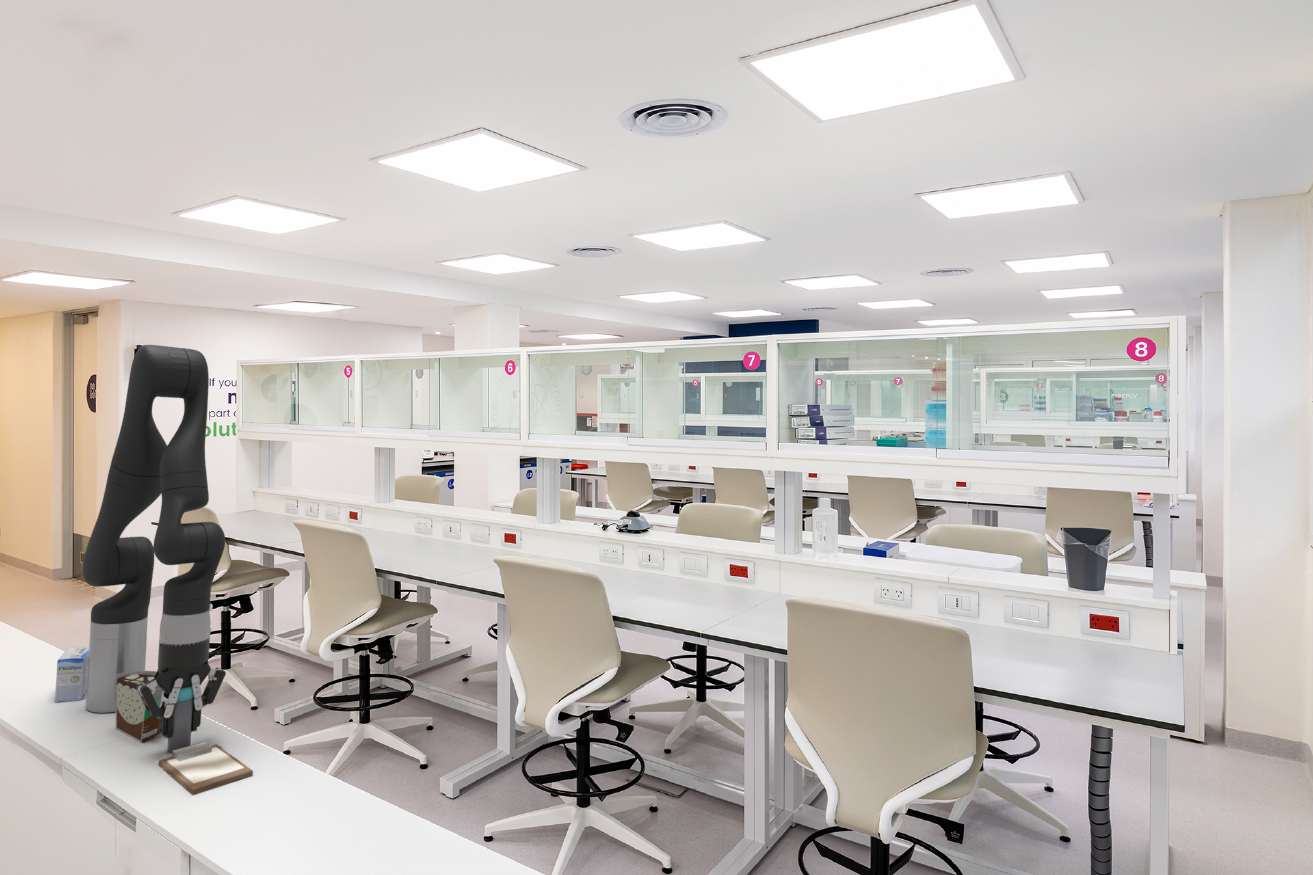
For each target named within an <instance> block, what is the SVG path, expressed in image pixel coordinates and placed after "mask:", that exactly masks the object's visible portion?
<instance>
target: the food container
mask: <svg viewBox="0 0 1313 875" xmlns="http://www.w3.org/2000/svg"><path fill="white" fill-rule="evenodd" d="M156 673H157V670H156V671H155V670H145V671H133V672H126V673H120V674H116V677H115V682H114V685H116V712H115V730H116V731H117V732H120V733H122V734H124V735H126V736H127V737H129V738H131V739H133V740H135V741H137V742H139V743H140V742H141V744H142V743H146V742H149V741H150V740H152V739H154V738H157V737H158V736H159V735H161V734H160V732H159V726H160V717H153V716H152V715H151V714H149V713H148V712H147V710H146V708H145V706H144V704H143V701H142V699H141V697H140V695H139V693H138V691H137V689H136V687H137V685H138V684H140V683H143V684H145V683H147V682H149V681H150V680H152V679H154V676H155V674H156ZM162 693H163V690H162V689H161V687H160V686H159V685H156V687H155V693H154V694H152V695H153V697H154V699H155V701H156V703H157V706H158V707H160V705H161V696H162ZM148 740H149V741H148Z"/></svg>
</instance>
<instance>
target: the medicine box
mask: <svg viewBox="0 0 1313 875" xmlns="http://www.w3.org/2000/svg"><path fill="white" fill-rule="evenodd" d="M88 663H89V646H79V647H78V646H77V647H68V648H66V649H65V650H64V652H63V653H62V654H61V655H60V656H59V658H58V660H57V662H56V681H55V695H54V696H55V697H54V702H56V703H62V702H61V701H66V702H75V701H74V700H77V701H81V700H83V699H84V697H85V695H86V694H87V682H88ZM72 700H73V701H72ZM59 701H60V702H59Z"/></svg>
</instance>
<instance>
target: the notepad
mask: <svg viewBox="0 0 1313 875" xmlns="http://www.w3.org/2000/svg"><path fill="white" fill-rule="evenodd" d="M158 766H159V767H160V766H161V767H162V768H163V769H164V770H163V769H162V768H161V767H160V768H161V769H162V770H163V771H164V772H166V773H167V774H168V775H169V776H170V775H171V776H170V777H171V778H173V779H174V781H176V782H177V783H179V785H181V786H182V787H183V788H184V789H185V790H187V791H188V792H189V793H190V794H191V796H192V795H196V794H199V793H202V792H205V791H208V790H211V789H215V788H218V787H221V786H224V785H228V784H230V783H234V782H236V781H241V780H243V779H246V778H249V777H252V776H253V774H254V770H253V769H251V768H250V767H249V766H247V765H246V764H244V763H243V762H242V761H240V760H239V759H238V758H236V757H235V756H233V754H231V753H229V752H228V751H227V750H226V749H224V748H223V747H221V746H220V745H218V744H217V743H215V744H212V745H210V744H208V743H207V742H205V741H204V742H200V743H197V744H192V745H190V746H188V747H185V748H181V749H177V750H174V751H172V752H171V756H170V757H166V758H163V759H159V760H158Z"/></svg>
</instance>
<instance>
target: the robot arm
mask: <svg viewBox="0 0 1313 875" xmlns="http://www.w3.org/2000/svg"><path fill="white" fill-rule="evenodd" d="M209 373H210V372H209V365H208V362H207V359H206V357H205V356H204V354H203V352H201V351H199V350H197V349H193V348H185V347H175V346H166V345H159V344H158V345H156V344H155V345H154V344H144V345H142V346H140V347H139V348H138V349H137V351H136V352H135V354H134V356H133V359H132V363H131V367H130V372H129V378H128V384H127V392H126V398H125V406H124V412H123V416H122V421H121V427H120V430H119V434H118V436H117V437H118V438H117V440H116V444H115V448H114V452H113V455H112V457H111V461H110V466H109V470H108V473H107V478H106V484H105V488H104V491H103V492H104V493H103V497H102V501H101V505H100V510H99V513H98V515H97V519H96V520H95V524H94V526H93V529H92V532H91V535H90V537H89V540H88V542H87V546H86V549H85V552H84V555H83V560H82V576H83V579H84V581H85V582H86V584H87V585H89V586H91V587H95V588H96V587H98V588H100V587H102V588H103V587H113V586H114V587H115V586H121V585H124V587H123V588H122V589H121V590H120V591H118V592H117V593H115V594H114V595H112V596H110V597H108V598H106V599H104V600H102V601H98V602H97V603H95V604H94V605H93V606H92V608H91V611H90V628H89V646H88V647H89V663H88V682H87V691H86V699H85V700H86V703H85V705H86V706H85V709H86V710H87V711H89V712H92V713H98V714H99V713H101V714H102V713H116V685H114V682H115V677H116V674H120V673H126V672H133V671H146V658H147V639H148V621H149V620H148V619H149V618H148V617H149V608H150V604H151V598H152V597H151V595H152V584H153V578H154V577H153V575H154V570H155V569H154V568H155V567H154V566H155V558H156V559H157V560H158V561H159V562H160V563H161V564H163V565H166V566H177V565H186V564H193V565H192V567H191V568H190V569H189V570H188V571H186V572H185V573H182V574H179V575H177V576H174V577H172V578H169V579H167V581H165V584H164V587H163V595H162V596H163V598H162V599H163V600H162V613H161V614H162V615H161V620H160V623H159V639H158V640H159V642H158V656H157V670H156V671H157V673H156V674H155V676H154V679H152V680H150V681H149V682H147V683H145V684H143V683H140V684H138V685H137V687H136V689H137V691H138V693H139V695H140V697H141V699H142V701H143V704H144V706H145V708H146V710H147V712H148V713H149V714H151V715H152V716H153V717H160V726H159V732H160V734H159V735H161V736H163V737H164V738H165V739H167V740H168V738H171V737H172V727H173V717H172V716H171V715H172V712H173V708H174V705H175V704H176V702H177V699H178V695H179V691H180V689H182V688H187V687H192V692H193V710H192V727H191V733H192V732H197V730H198V728H199V727H200V726H201V723H202V709H203V708H204V707H205V706H207V705H211V704H213V703H214V702H215V699H216V697H217V695H218V692H219V690H220V688H221V685H222V683H223V682H224V681H223V680H224V679H225V677H226V675H227V672H226V671H225V670H223V669H222V668H220V667H215V668H213V667H211V665H210V664H209V658H210V657H209V656H210V640H211V632H212V628H211V622H212V621H211V593H212V592H211V591H212V586H213V582H214V580H215V579H214V578H215V576H216V573H217V569H218V566H219V564H220V562H221V559H222V556H223V554H224V551H225V547H226V535H225V532H224V530H223V528H222V527H221V526H220V524H218V523H216V522H214V521H213V522H212V521H201V522H184V523H182V518H183V516H184V514H185V513H188V512H192V511H197V510H199V509H203V508H205V507H206V506H208V504H209V500H210V494H209V493H210V492H209V485H208V476H207V466H206V437H207V435H206V434H207V422H208V410H209V409H208V406H209V403H208V402H209V384H210V383H209V381H210V378H209V376H210V374H209ZM157 397H159V398H169V399H170V398H173V399H183V405H184V406H183V408H184V409H183V415H182V419H181V422H180V424H179V426H178V428H177V430H176V431H175V433H174V435H173V436H172V438H171V440H170V441H169V442H168V444H167V443H166V441H165V439H164V438H163V436H162V433H161V432H160V430H159V429H158V427H157V425H156V422H155V419H154V417H153V416H154V415H153V404H154V401H155V399H156V398H157ZM160 496H161V506H160V513H159V514H160V515H159V518H158V519H159V520H158V522H157V528H156V530H155V535H154V540H153V543H152V541H151V540H150V539H149V538H148V537H147V536H128V537H127V536H125V537H124V536H123V537H121V535H122V534H123V533H124V531H125V530H126V528H127V527H128V526H129V525H130V524H131V523H132V522H133V520H135V519H137V517H138V516H140V515H141V514H143V512H145V510H147V509H148V508H149V507H151V505H152V504H153V503H155V502H156V500H157V499H158V498H159V497H160ZM206 678H207V679H208V681H207V683H206V686H205V687H204V690H203V692H202V689H201V685H202V684H203V682H204V681H205V680H206ZM156 685H159V686H160V687H161V689H162V690H163V693H162V696H161V705H160V707H158V706H157V703H156V701H155V699H154V697H153V695H152V694H154V693H155V687H156Z"/></svg>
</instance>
